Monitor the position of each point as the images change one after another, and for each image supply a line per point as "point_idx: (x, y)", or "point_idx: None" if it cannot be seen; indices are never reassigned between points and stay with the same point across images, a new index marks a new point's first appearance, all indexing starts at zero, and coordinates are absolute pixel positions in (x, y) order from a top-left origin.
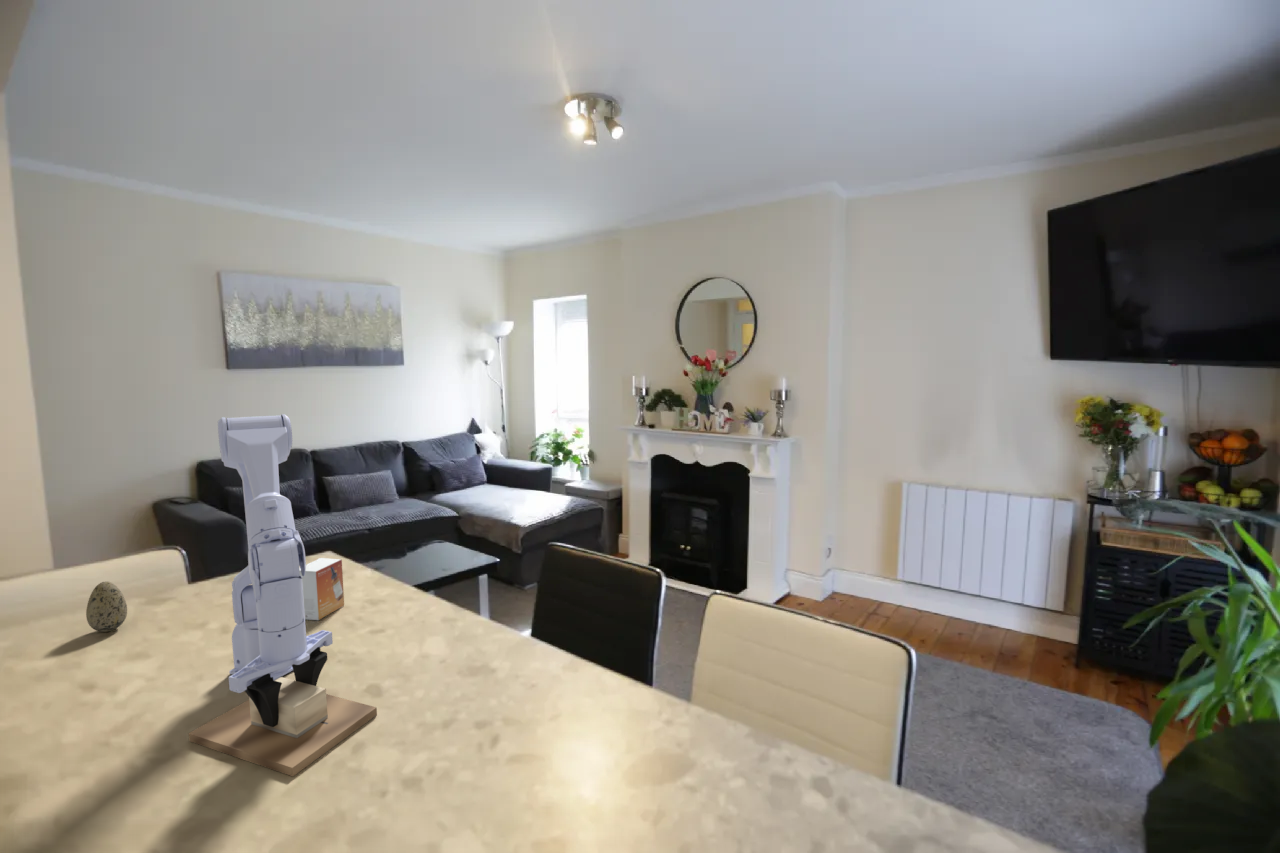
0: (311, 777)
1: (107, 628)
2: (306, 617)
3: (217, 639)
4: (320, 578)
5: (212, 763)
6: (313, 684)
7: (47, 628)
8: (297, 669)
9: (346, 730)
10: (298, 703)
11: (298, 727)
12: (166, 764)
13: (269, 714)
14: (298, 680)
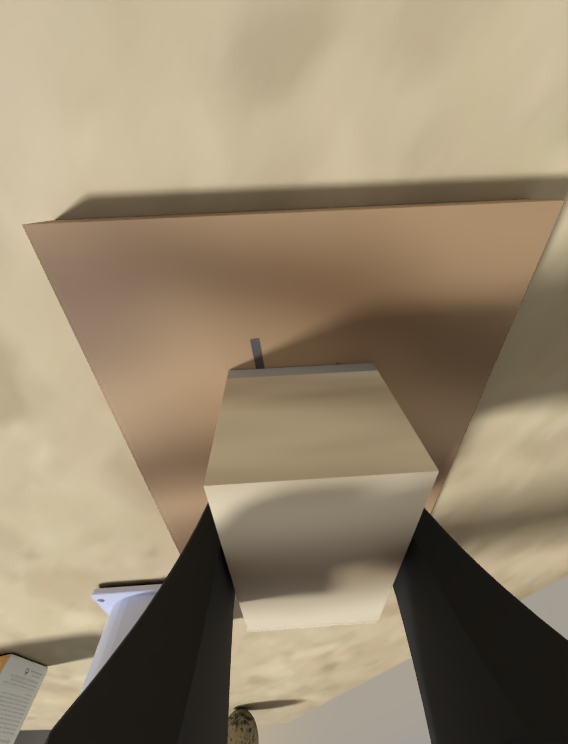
0: (538, 93)
1: (246, 718)
2: (28, 667)
3: None
4: None
5: (464, 465)
6: (208, 547)
7: (268, 720)
8: (223, 675)
9: (242, 215)
10: (394, 485)
11: (376, 386)
12: (472, 520)
13: None
14: (232, 597)
